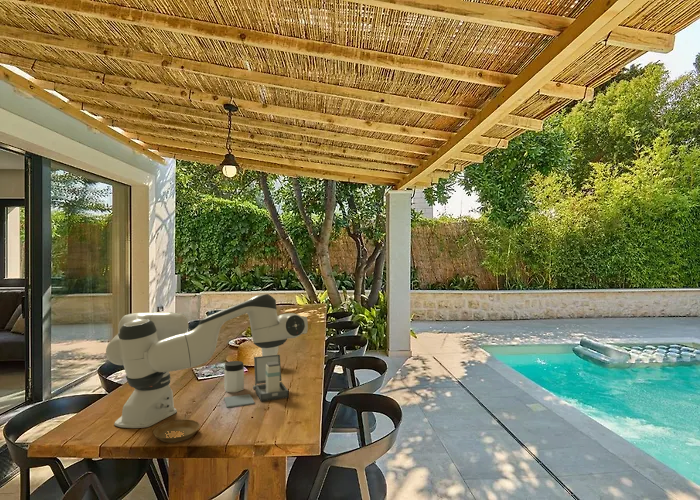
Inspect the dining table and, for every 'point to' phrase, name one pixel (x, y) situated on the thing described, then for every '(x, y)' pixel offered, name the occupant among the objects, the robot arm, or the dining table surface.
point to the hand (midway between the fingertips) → (277, 325)
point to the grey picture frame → (264, 367)
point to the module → (272, 377)
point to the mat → (238, 400)
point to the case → (272, 395)
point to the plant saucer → (177, 425)
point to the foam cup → (269, 351)
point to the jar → (233, 376)
